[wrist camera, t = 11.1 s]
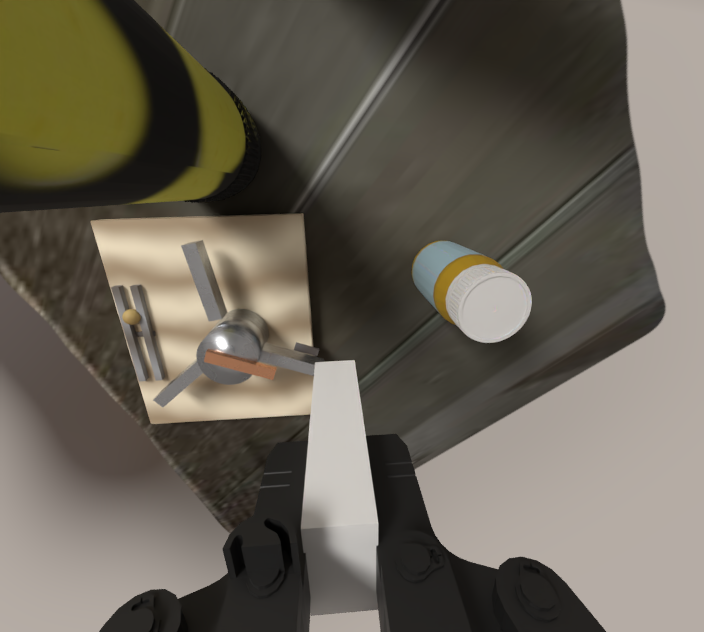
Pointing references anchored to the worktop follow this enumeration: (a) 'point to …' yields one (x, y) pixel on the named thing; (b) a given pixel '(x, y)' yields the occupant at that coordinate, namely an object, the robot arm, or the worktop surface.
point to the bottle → (472, 291)
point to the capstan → (230, 338)
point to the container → (112, 112)
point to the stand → (190, 317)
